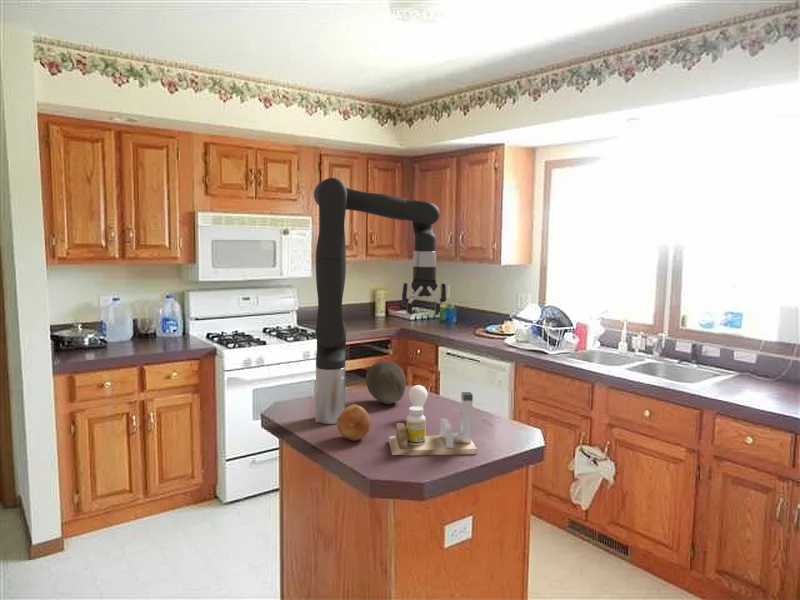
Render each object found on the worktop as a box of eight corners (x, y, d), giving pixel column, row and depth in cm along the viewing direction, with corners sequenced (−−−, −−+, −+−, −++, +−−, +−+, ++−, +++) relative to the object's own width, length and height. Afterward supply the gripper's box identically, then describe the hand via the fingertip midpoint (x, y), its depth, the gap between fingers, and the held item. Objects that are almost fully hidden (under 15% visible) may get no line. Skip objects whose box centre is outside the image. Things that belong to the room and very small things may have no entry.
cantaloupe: (404, 397, 211) (405, 357, 209) (406, 409, 197) (407, 366, 195) (365, 397, 210) (366, 357, 209) (365, 409, 196) (365, 365, 195)
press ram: (445, 447, 156) (447, 398, 155) (439, 435, 166) (440, 389, 165) (474, 447, 157) (475, 398, 156) (466, 434, 167) (467, 388, 165)
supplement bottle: (409, 438, 164) (410, 404, 163) (427, 440, 162) (428, 406, 161) (403, 444, 159) (404, 409, 158) (422, 447, 157) (423, 412, 156)
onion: (332, 435, 169) (332, 402, 168) (363, 431, 173) (364, 399, 172) (342, 446, 160) (343, 411, 159) (376, 442, 164) (376, 408, 163)
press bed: (392, 455, 154) (392, 435, 154) (388, 441, 165) (389, 422, 165) (476, 454, 157) (477, 434, 156) (468, 440, 168) (468, 421, 167)
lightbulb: (427, 416, 189) (428, 383, 188) (426, 422, 183) (427, 388, 182) (409, 415, 190) (409, 382, 189) (407, 421, 184) (408, 387, 183)
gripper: (404, 265, 183) (403, 316, 185) (448, 266, 185) (447, 316, 186) (401, 264, 191) (400, 313, 192) (444, 265, 192) (442, 313, 194)
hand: (423, 314), depth 189 cm, fingers open, 8 cm apart
